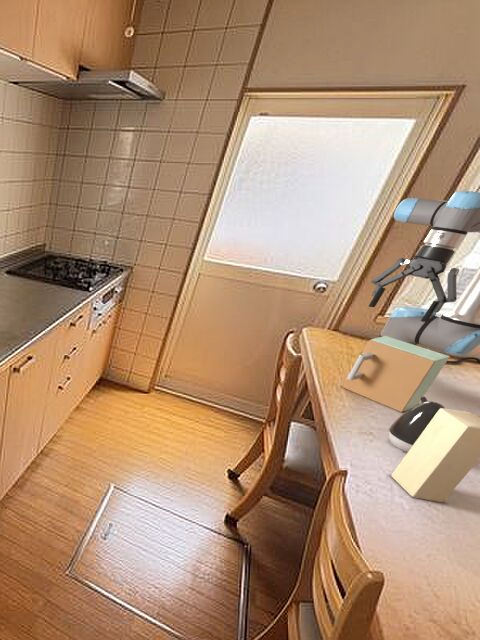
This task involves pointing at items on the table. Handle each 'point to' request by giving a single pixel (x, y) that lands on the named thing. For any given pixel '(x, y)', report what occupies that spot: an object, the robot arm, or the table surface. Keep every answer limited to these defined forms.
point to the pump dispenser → (412, 424)
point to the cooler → (437, 357)
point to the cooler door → (388, 374)
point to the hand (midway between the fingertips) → (396, 314)
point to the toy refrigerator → (441, 455)
